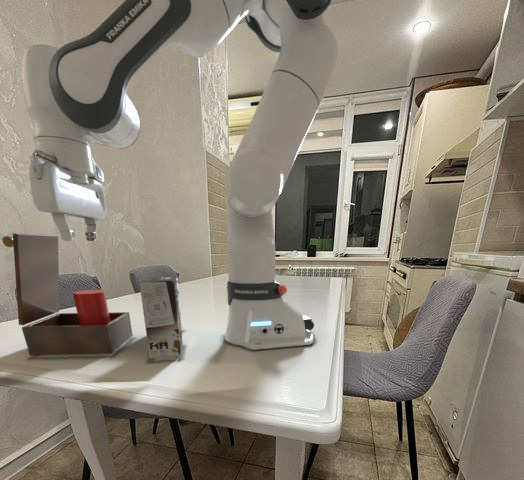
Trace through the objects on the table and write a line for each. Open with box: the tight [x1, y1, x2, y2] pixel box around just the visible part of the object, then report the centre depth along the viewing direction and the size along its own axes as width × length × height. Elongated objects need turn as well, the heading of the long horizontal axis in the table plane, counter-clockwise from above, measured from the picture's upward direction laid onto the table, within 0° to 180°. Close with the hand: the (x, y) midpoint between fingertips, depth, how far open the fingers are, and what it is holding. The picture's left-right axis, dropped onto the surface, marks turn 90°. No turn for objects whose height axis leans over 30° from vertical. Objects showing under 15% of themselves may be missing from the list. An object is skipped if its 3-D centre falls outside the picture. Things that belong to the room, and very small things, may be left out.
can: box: [72, 289, 110, 325], centre depth 65 cm, size 6×6×12 cm
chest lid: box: [1, 232, 60, 326], centre depth 61 cm, size 17×13×5 cm
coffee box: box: [139, 275, 184, 360], centre depth 61 cm, size 9×6×16 cm
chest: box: [21, 311, 133, 356], centre depth 66 cm, size 17×13×7 cm
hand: (81, 240), depth 60 cm, fingers open, 8 cm apart
